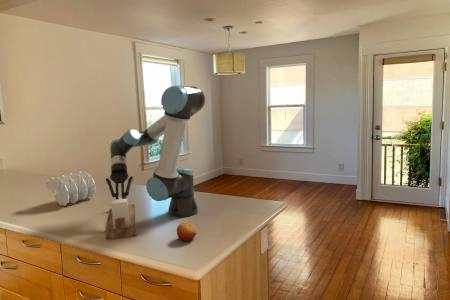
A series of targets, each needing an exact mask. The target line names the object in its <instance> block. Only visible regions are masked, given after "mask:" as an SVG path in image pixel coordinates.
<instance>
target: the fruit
mask: <svg viewBox="0 0 450 300" xmlns="http://www.w3.org/2000/svg"><path fill="white" fill-rule="evenodd" d="M176 235H177V237H178V239H177V241H179V240H181V241H183V242H189V241H192V240H193V239H194V238H195V237H196V235H197V229H196V227H195V225H194V224H193V223H190V222H189V221H188V222H187V221H183V222H181V223H180V224H178V226H177V228H176Z"/></svg>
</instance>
